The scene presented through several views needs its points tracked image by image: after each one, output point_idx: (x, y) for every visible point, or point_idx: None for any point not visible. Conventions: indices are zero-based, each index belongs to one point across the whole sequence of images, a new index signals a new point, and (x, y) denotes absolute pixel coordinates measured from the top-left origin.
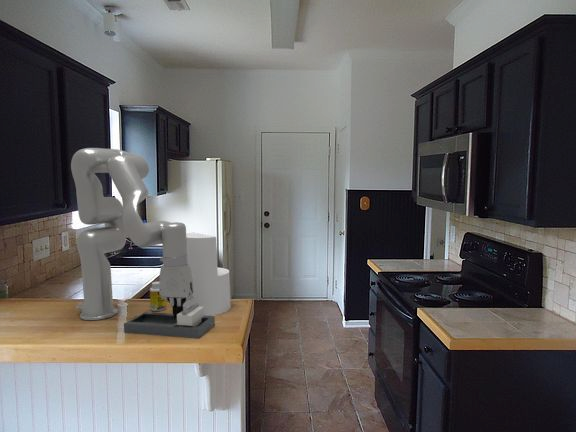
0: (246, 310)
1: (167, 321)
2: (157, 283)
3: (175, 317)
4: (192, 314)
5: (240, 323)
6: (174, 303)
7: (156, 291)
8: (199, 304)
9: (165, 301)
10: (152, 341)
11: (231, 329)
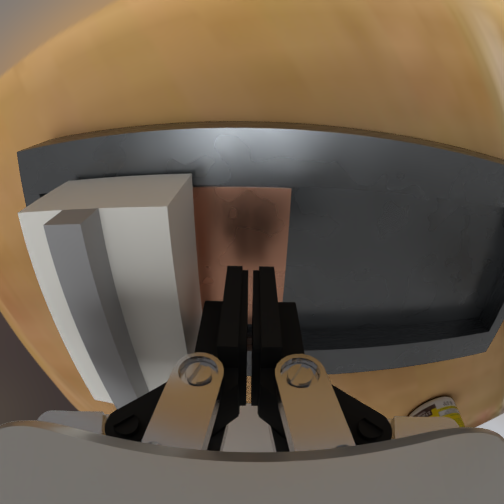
0: None
1: (355, 303)
2: None
3: (255, 270)
4: (30, 246)
5: (31, 342)
6: (275, 390)
7: None
8: (232, 450)
9: None
10: (326, 23)
11: (11, 284)
